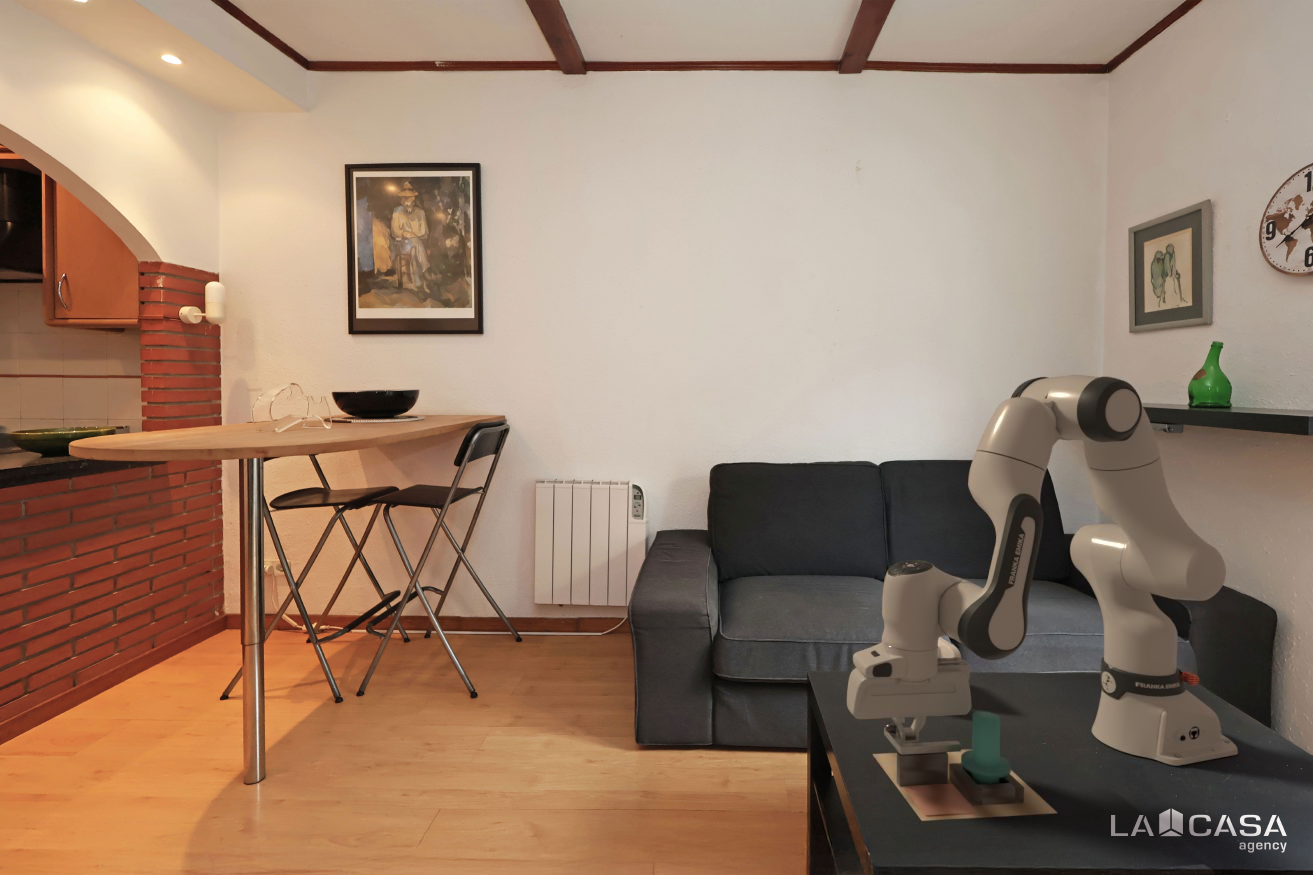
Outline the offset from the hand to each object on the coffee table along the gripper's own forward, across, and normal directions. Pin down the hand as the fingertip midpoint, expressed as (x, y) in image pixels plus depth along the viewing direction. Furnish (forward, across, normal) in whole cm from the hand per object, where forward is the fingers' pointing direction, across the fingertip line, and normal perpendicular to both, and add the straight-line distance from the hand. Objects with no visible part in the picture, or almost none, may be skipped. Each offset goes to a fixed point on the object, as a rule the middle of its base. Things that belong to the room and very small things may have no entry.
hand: (908, 740), depth 122 cm
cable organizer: (+6, -17, -32) cm, 37 cm away
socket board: (+6, -7, +4) cm, 10 cm away
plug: (+5, -10, +7) cm, 13 cm away
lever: (0, -2, +1) cm, 2 cm away
